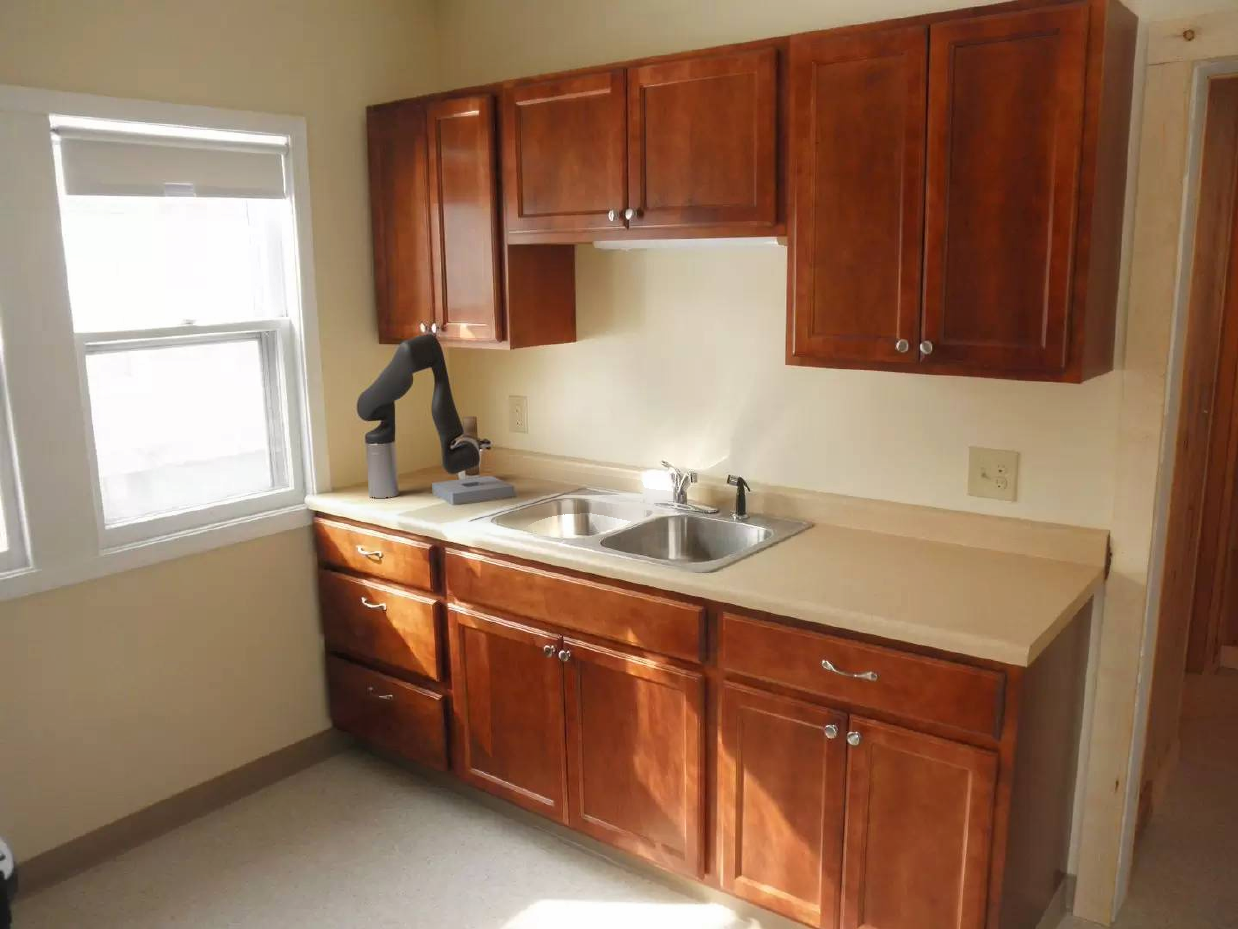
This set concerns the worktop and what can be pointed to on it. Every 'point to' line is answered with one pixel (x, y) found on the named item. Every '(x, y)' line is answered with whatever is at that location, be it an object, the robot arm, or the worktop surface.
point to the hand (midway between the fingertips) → (471, 441)
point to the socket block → (473, 489)
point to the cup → (462, 474)
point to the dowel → (471, 430)
